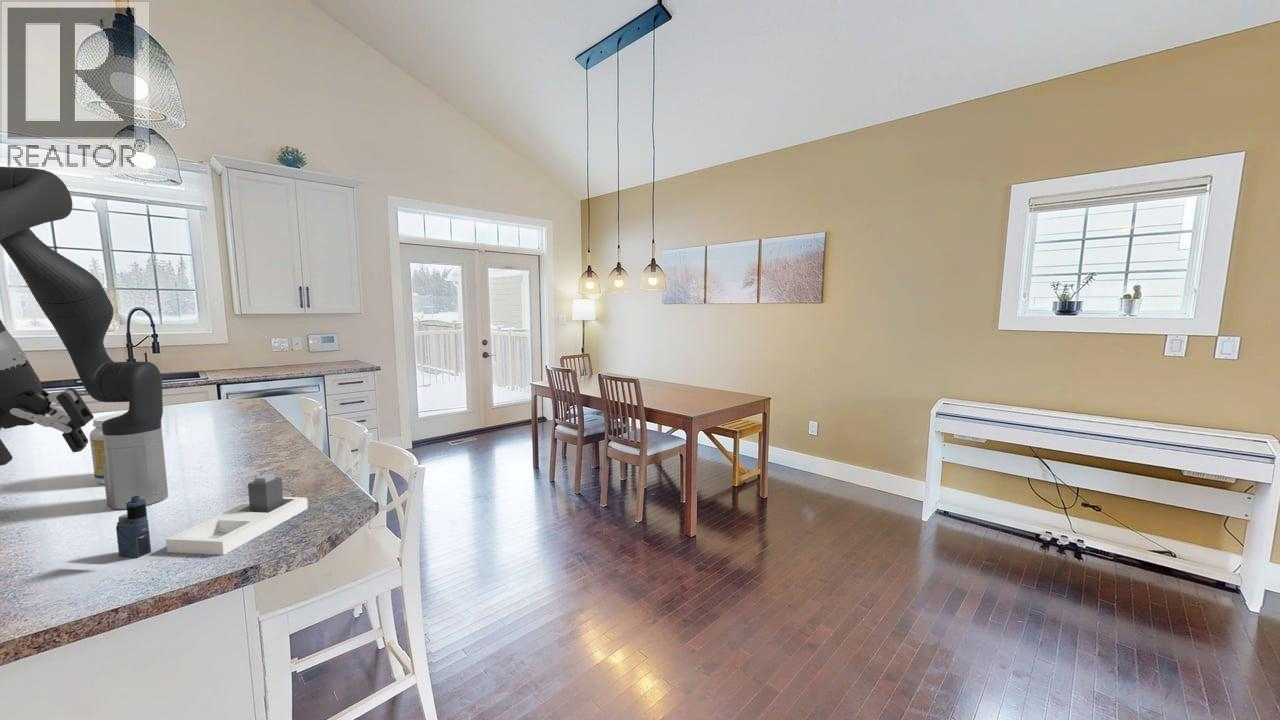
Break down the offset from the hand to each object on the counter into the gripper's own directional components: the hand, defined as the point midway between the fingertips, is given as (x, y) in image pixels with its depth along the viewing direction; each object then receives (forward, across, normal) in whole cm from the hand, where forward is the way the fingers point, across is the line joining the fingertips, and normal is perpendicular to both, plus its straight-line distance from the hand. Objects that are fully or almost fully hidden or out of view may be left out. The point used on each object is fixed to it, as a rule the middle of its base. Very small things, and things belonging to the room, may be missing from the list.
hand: (44, 455), depth 74 cm
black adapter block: (+28, +20, +8) cm, 35 cm away
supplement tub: (+36, -21, +52) cm, 67 cm away
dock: (+27, +18, +3) cm, 32 cm away
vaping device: (+24, +4, -1) cm, 24 cm away
